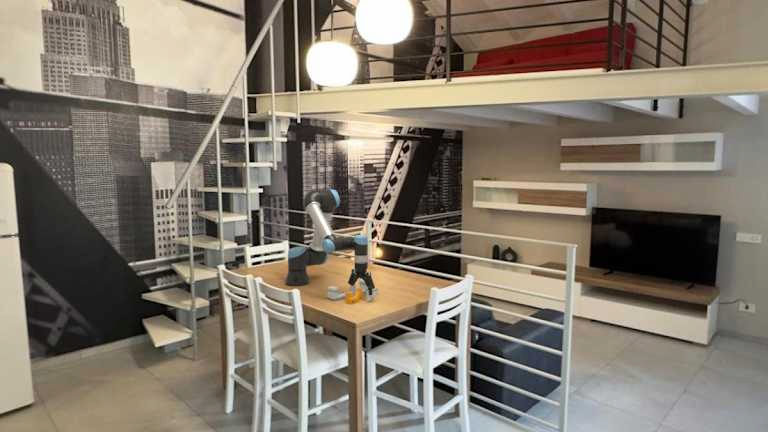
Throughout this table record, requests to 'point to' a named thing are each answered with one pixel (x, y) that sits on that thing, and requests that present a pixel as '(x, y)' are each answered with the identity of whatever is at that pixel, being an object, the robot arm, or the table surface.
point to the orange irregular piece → (356, 298)
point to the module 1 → (332, 292)
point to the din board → (343, 296)
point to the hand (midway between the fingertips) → (361, 298)
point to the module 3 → (373, 292)
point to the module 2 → (362, 285)
